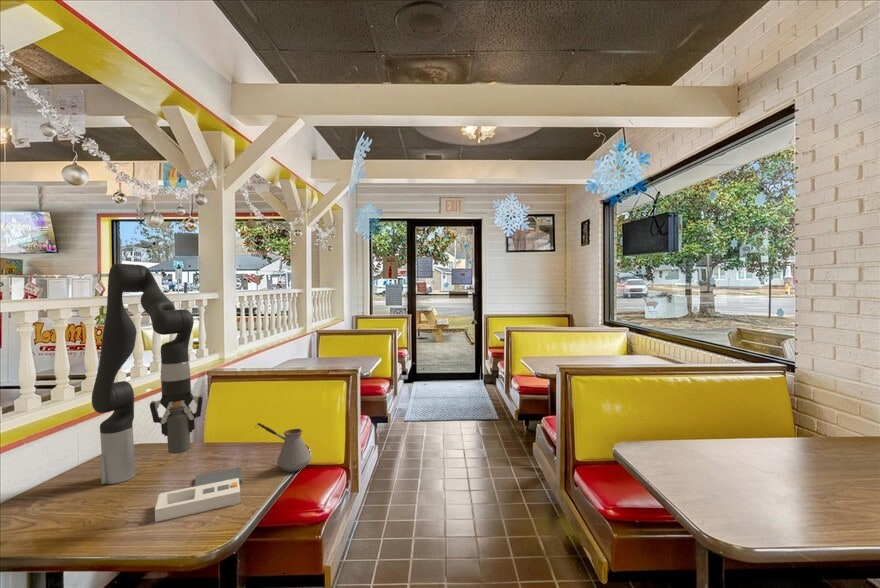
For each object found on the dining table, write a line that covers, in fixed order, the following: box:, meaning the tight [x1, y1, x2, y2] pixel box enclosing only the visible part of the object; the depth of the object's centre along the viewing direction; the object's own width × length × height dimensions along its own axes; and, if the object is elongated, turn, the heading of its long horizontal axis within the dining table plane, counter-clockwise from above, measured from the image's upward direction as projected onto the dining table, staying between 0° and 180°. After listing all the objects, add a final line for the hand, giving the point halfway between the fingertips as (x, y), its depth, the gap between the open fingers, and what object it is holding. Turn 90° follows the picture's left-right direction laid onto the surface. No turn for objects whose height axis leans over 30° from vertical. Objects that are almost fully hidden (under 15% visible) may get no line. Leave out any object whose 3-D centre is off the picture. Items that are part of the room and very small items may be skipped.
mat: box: [193, 466, 243, 487], centre depth 155 cm, size 14×12×1 cm
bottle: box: [166, 400, 191, 454], centre depth 137 cm, size 6×6×15 cm
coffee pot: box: [255, 422, 312, 473], centre depth 166 cm, size 21×12×15 cm, turn 71°
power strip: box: [154, 478, 242, 523], centre depth 139 cm, size 22×11×4 cm, turn 116°
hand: (178, 433), depth 137 cm, fingers closed on bottle, 6 cm apart
